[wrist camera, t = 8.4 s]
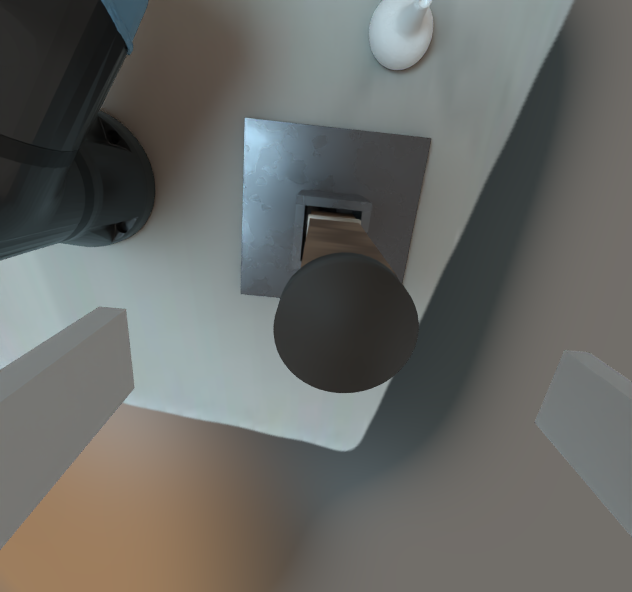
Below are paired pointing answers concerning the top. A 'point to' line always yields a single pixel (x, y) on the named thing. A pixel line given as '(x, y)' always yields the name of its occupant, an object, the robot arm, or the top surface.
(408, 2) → the garlic bulb
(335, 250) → the post
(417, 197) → the sleeve stand
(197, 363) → the top surface
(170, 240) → the top surface
